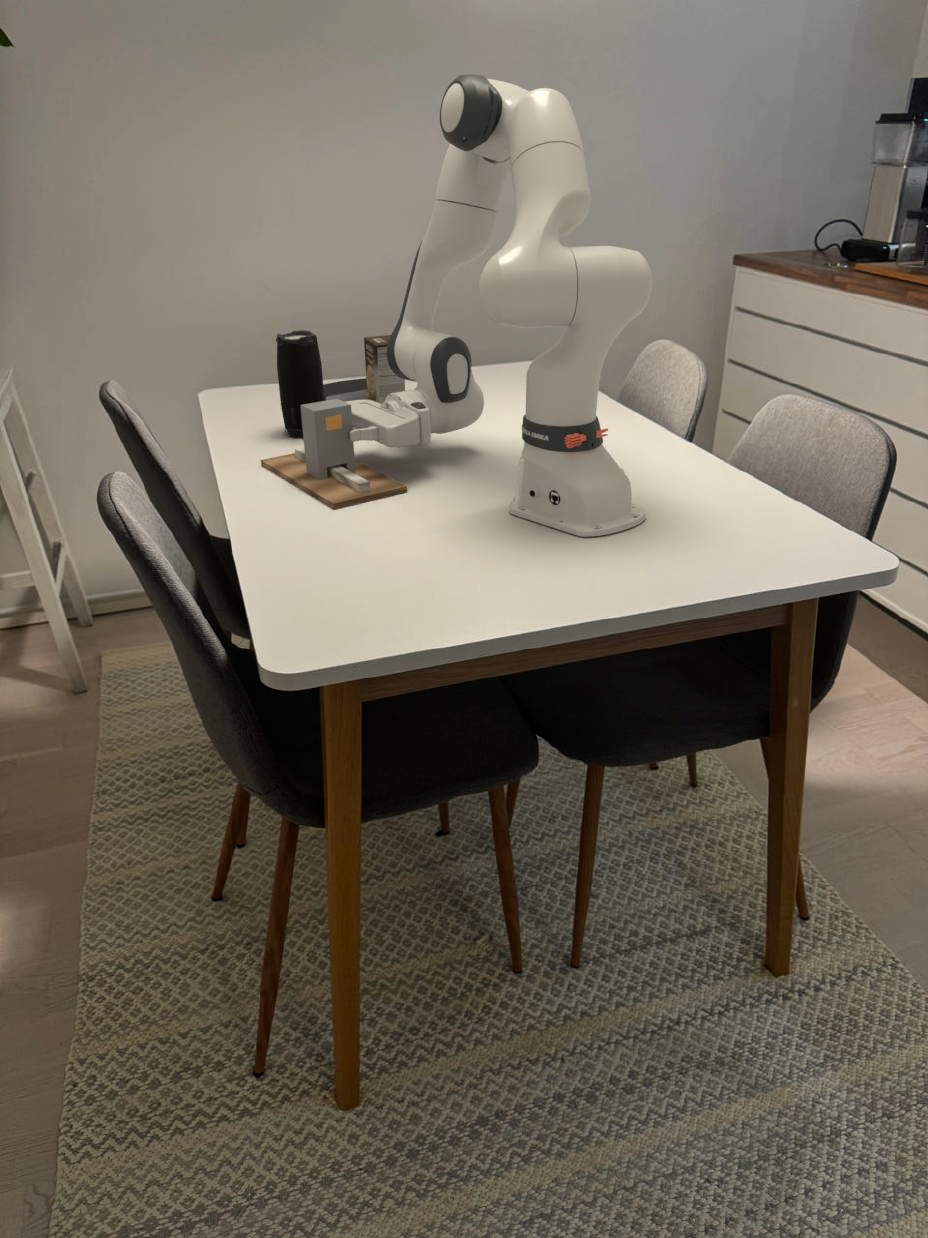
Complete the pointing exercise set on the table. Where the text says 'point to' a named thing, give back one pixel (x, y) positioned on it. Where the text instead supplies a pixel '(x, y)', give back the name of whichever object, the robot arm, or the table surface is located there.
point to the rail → (335, 481)
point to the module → (327, 436)
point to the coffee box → (380, 370)
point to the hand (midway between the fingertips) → (336, 429)
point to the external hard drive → (346, 390)
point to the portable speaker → (298, 376)
